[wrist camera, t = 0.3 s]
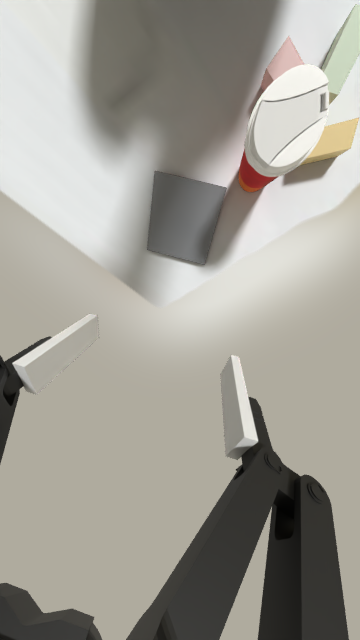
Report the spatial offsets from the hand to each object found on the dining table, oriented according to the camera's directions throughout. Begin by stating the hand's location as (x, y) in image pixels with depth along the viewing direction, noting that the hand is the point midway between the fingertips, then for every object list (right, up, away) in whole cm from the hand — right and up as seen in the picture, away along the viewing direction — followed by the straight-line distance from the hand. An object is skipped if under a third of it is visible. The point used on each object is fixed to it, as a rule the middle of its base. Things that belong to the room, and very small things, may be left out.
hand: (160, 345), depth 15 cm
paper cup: (+15, +29, +13) cm, 35 cm away
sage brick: (+23, +37, +7) cm, 44 cm away
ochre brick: (+24, +30, +10) cm, 40 cm away
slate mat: (+3, +23, +18) cm, 30 cm away
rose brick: (+17, +36, +8) cm, 41 cm away
